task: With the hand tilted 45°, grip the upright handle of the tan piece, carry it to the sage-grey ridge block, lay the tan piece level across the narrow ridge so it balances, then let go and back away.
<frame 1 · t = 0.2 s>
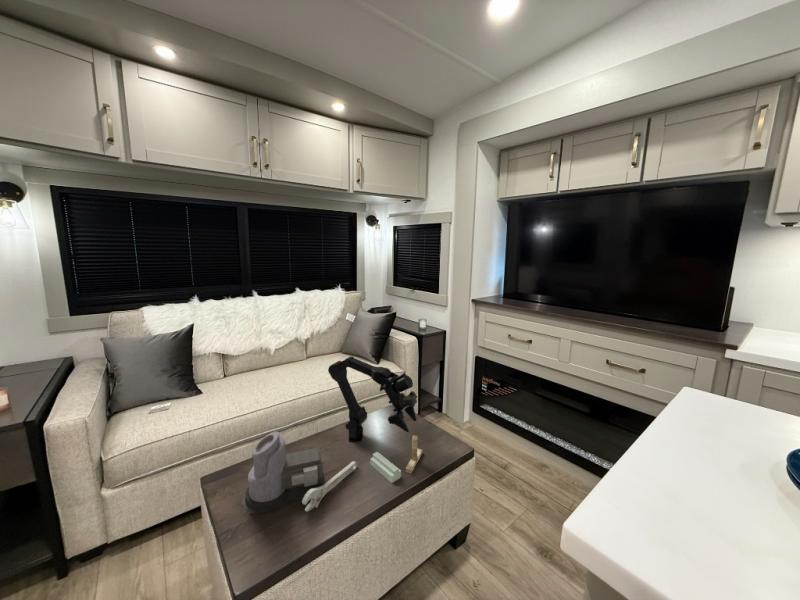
hand: (411, 426, 139), 14 cm above the table, tool tilted 35°, fingers open, 9 cm apart
tan piece: (414, 462, 137), on the table
ridge: (385, 470, 131), on the table
wrench: (332, 490, 121), on the table
juicer: (285, 491, 120), on the table
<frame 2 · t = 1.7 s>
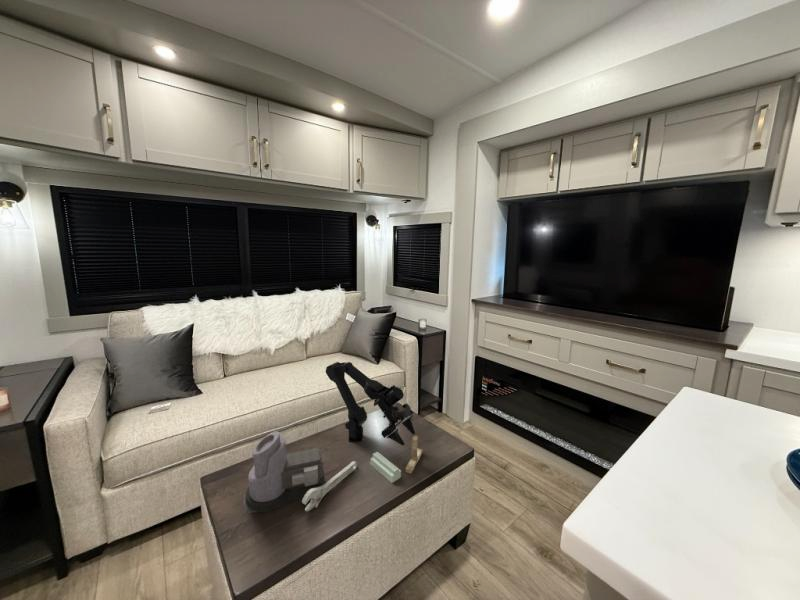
hand: (409, 439, 136), 10 cm above the table, tool tilted 45°, fingers open, 9 cm apart
nothing on the table moved.
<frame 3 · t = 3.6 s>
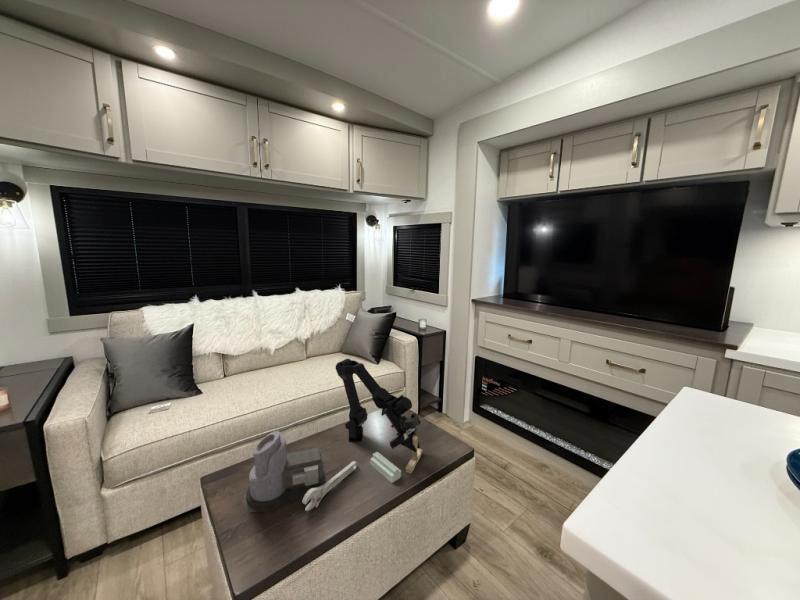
hand: (417, 449, 135), 7 cm above the table, tool tilted 45°, fingers closed on tan piece, 2 cm apart
tan piece: (414, 462, 137), on the table, touching gripper
everything else where it was.
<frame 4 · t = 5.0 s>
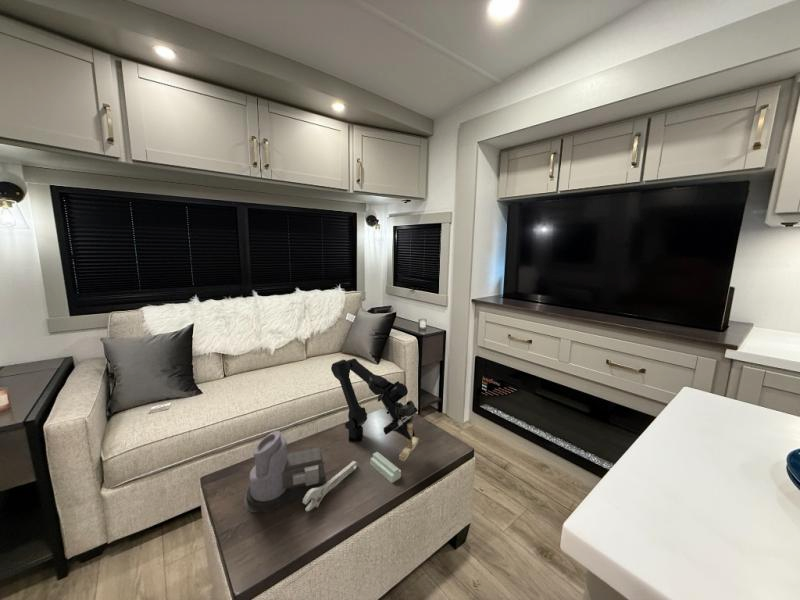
hand: (412, 437, 132), 13 cm above the table, tool tilted 45°, fingers closed on tan piece, 2 cm apart
tan piece: (409, 450, 134), point 7 cm above the table, touching gripper
everything else where it was.
when the fingers open (12 cm above the table, at t = 6.3 s): tan piece stays where it is, resting on ridge.
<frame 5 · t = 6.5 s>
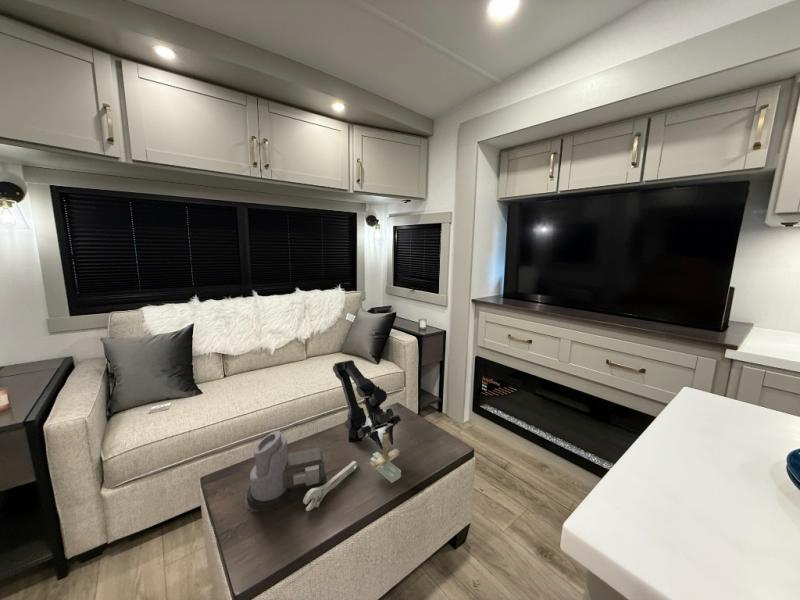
hand: (387, 446, 128), 12 cm above the table, tool tilted 45°, fingers open, 5 cm apart
tan piece: (385, 461, 130), point 4 cm above the table, touching ridge
everything else where it was.
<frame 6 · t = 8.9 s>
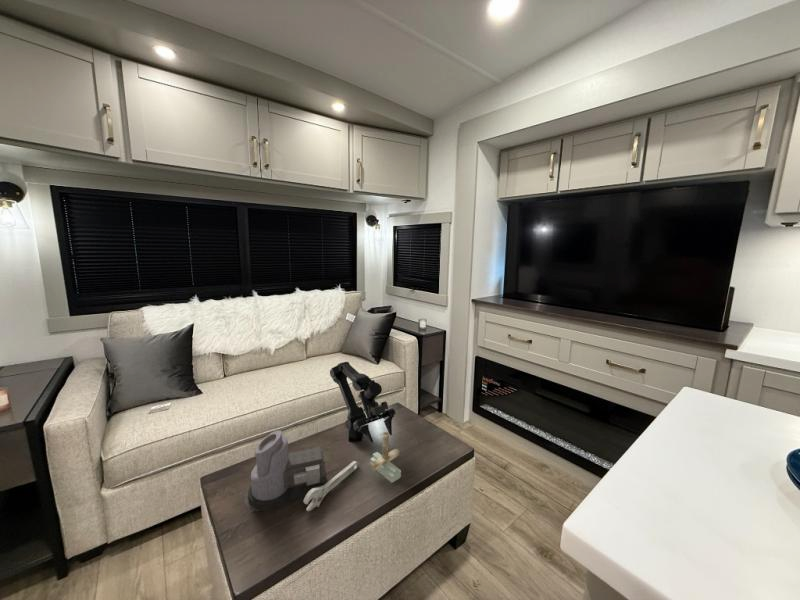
hand: (382, 438, 131), 13 cm above the table, tool tilted 45°, fingers open, 9 cm apart
nothing on the table moved.
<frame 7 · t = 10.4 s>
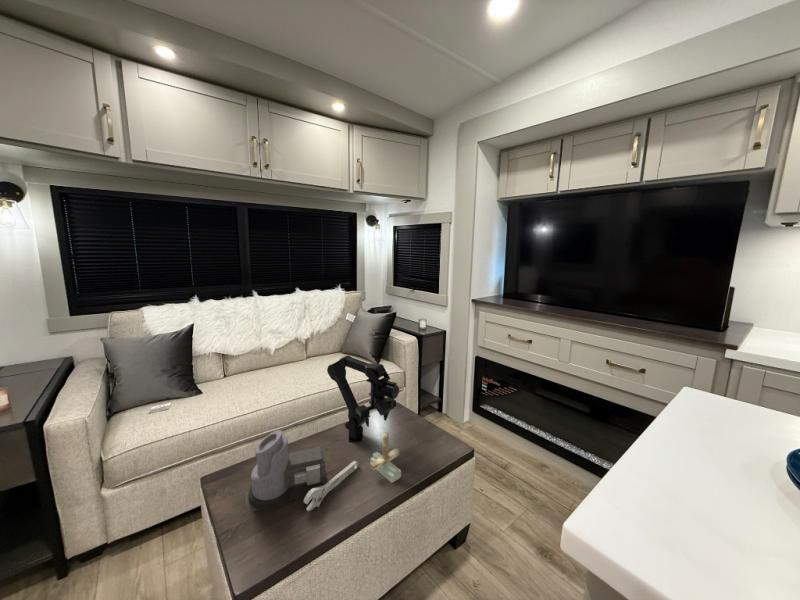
hand: (376, 423, 144), 12 cm above the table, tool pointing down, fingers open, 9 cm apart
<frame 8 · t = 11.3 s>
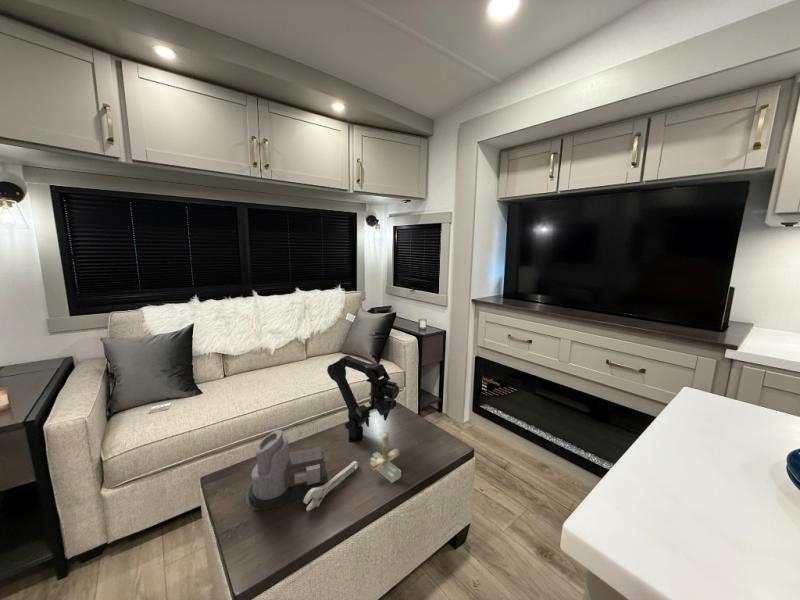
hand: (376, 423, 144), 12 cm above the table, tool pointing down, fingers open, 9 cm apart
at the end: tan piece 0.0 cm off-centre on the ridge, point 4.5 cm above the ridge's base; tan piece tilted 0°; tan piece touching ridge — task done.
